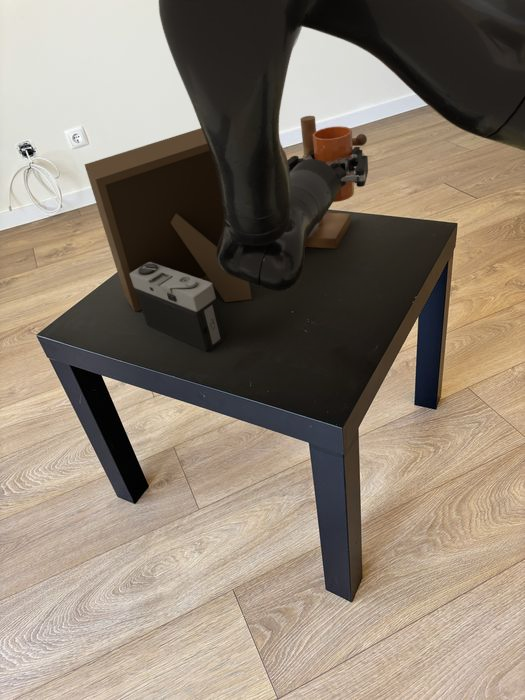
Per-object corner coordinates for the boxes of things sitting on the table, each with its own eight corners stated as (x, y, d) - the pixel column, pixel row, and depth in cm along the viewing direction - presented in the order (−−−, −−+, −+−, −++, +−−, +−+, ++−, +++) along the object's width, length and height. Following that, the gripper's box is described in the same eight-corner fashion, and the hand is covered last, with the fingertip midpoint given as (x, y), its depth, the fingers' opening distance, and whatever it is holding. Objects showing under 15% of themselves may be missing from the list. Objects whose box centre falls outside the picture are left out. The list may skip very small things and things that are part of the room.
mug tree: (283, 245, 98) (268, 128, 86) (301, 221, 105) (289, 109, 92) (362, 250, 93) (358, 126, 80) (375, 224, 100) (373, 106, 87)
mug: (348, 202, 85) (345, 139, 79) (313, 201, 88) (307, 140, 81) (364, 176, 92) (363, 116, 86) (331, 176, 95) (327, 117, 89)
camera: (244, 324, 81) (232, 267, 74) (206, 354, 76) (190, 296, 70) (182, 300, 89) (167, 246, 82) (144, 326, 84) (125, 271, 78)
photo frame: (126, 301, 91) (74, 155, 75) (237, 256, 98) (209, 114, 82) (158, 342, 80) (104, 181, 65) (279, 288, 87) (256, 131, 72)
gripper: (353, 170, 70) (381, 127, 81) (254, 170, 75) (293, 130, 87) (355, 223, 75) (382, 175, 86) (262, 219, 80) (298, 175, 91)
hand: (337, 153), depth 86 cm, fingers closed on mug, 6 cm apart
